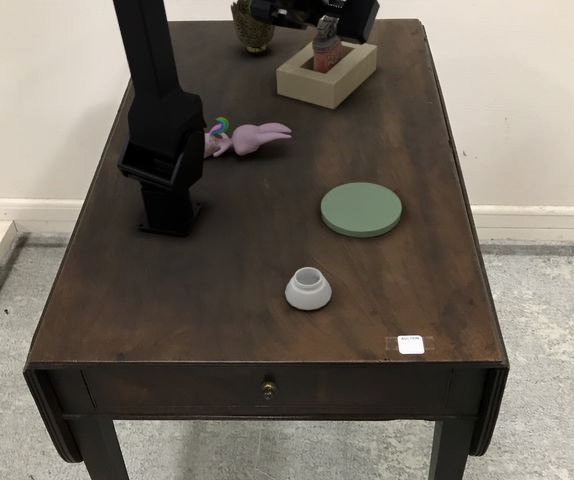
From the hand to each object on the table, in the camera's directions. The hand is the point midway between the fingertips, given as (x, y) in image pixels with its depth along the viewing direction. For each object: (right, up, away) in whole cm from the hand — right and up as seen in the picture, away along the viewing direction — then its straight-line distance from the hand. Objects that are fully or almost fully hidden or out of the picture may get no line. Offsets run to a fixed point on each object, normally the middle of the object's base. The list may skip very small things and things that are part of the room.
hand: (332, 32), depth 106 cm
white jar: (-4, -41, -29) cm, 50 cm away
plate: (+2, -30, -19) cm, 36 cm away
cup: (-12, +2, +13) cm, 18 cm away
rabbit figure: (-14, -21, -9) cm, 26 cm away
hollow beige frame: (0, -6, +4) cm, 7 cm away
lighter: (0, -6, +5) cm, 8 cm away
